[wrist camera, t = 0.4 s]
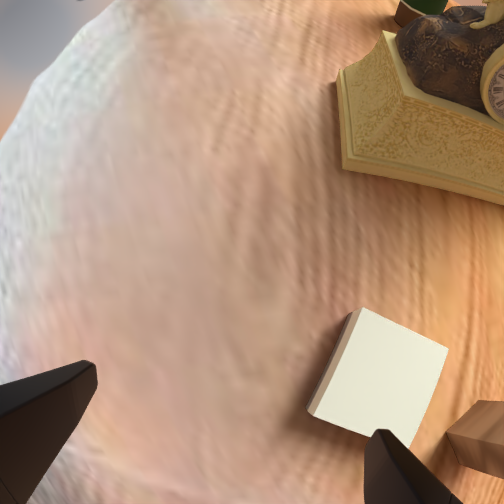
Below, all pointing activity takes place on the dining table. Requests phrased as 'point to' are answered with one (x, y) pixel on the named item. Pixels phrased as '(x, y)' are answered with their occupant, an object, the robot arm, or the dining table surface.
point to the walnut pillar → (480, 438)
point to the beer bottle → (417, 10)
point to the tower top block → (379, 378)
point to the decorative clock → (430, 103)
